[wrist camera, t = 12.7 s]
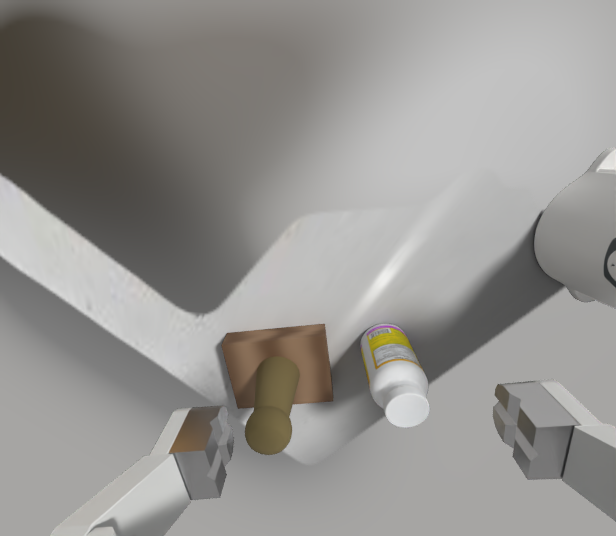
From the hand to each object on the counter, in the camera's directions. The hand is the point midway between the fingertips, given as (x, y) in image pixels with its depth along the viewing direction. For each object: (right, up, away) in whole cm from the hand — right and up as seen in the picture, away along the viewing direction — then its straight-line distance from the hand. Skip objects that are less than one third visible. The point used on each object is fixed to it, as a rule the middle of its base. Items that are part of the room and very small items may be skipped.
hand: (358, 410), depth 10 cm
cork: (-6, -10, +34) cm, 36 cm away
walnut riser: (-5, -9, +37) cm, 39 cm away
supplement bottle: (+9, -6, +36) cm, 37 cm away
